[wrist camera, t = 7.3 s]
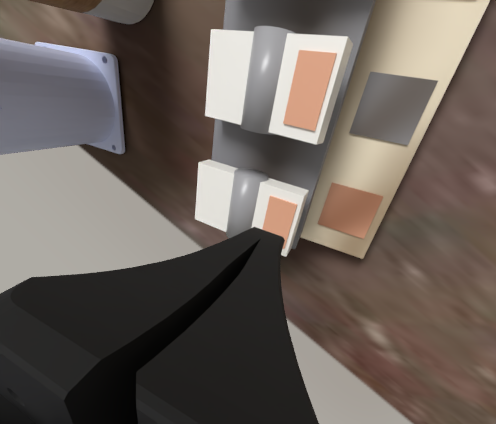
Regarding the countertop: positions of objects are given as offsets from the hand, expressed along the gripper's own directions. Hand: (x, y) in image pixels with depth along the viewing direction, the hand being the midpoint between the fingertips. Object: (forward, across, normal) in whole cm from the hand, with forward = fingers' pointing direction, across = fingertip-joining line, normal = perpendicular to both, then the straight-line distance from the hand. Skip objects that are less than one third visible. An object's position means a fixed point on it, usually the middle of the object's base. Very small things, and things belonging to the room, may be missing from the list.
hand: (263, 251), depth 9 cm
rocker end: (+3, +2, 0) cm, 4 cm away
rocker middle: (+3, +2, -6) cm, 7 cm away
